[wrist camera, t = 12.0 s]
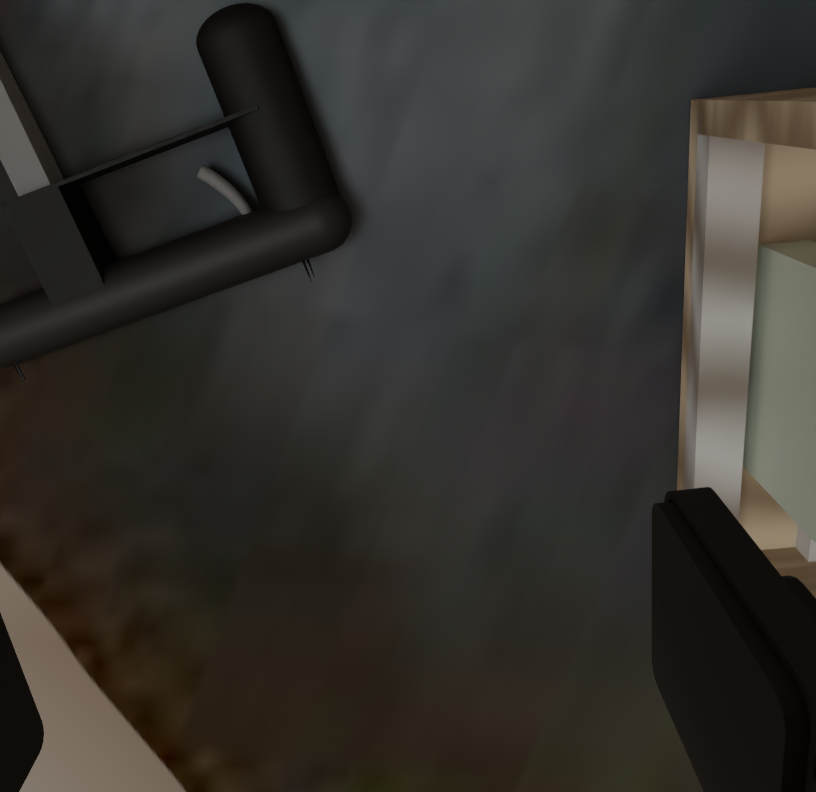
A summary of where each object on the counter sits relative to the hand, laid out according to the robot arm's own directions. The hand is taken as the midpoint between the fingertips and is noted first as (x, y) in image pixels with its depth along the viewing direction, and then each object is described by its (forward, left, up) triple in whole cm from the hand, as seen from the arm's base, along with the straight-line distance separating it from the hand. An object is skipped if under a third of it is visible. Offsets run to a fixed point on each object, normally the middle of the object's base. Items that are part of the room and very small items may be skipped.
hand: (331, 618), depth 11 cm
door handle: (-5, -12, -30) cm, 33 cm away
